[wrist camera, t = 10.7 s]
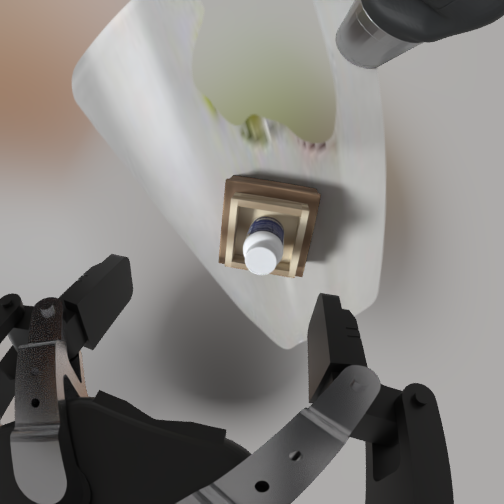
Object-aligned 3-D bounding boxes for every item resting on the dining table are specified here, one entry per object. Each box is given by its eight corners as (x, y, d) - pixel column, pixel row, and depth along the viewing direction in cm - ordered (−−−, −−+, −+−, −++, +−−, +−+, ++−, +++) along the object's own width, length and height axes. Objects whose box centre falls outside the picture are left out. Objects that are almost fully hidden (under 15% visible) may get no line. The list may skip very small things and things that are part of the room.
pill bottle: (247, 215, 41) (236, 242, 33) (283, 213, 40) (281, 240, 32) (251, 247, 44) (241, 280, 35) (285, 246, 43) (283, 279, 34)
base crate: (232, 174, 44) (225, 180, 40) (317, 187, 44) (320, 195, 39) (224, 249, 51) (218, 262, 47) (301, 262, 50) (302, 277, 46)
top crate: (235, 192, 41) (231, 198, 38) (307, 204, 40) (309, 211, 37) (229, 255, 46) (224, 266, 43) (294, 266, 45) (294, 278, 42)
